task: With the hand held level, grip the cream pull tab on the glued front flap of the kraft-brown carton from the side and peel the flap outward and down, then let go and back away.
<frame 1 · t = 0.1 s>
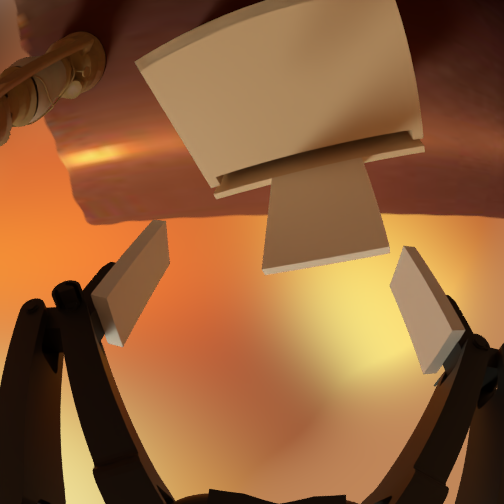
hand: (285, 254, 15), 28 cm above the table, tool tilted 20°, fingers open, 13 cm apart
lantern: (78, 62, 30), on the table
carton: (287, 53, 29), on the table
front flap: (314, 152, 26), point 14 cm above the table, hinge at 0.0°
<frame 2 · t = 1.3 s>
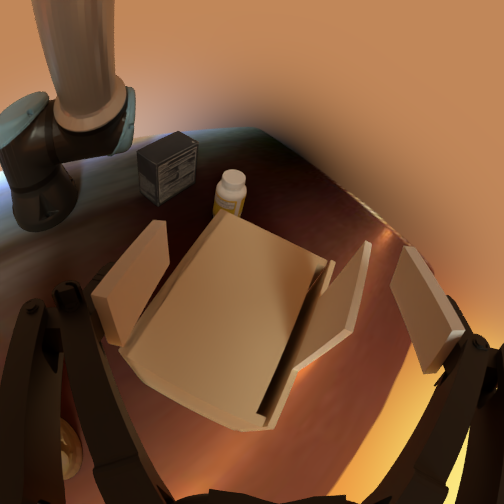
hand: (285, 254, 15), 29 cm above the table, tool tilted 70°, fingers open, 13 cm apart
lantern: (51, 447, 26), on the table
supplement bottle: (225, 215, 56), on the table
small box: (167, 187, 58), on the table
carton: (218, 349, 41), on the table
front flap: (298, 343, 29), point 14 cm above the table, hinge at -0.5°
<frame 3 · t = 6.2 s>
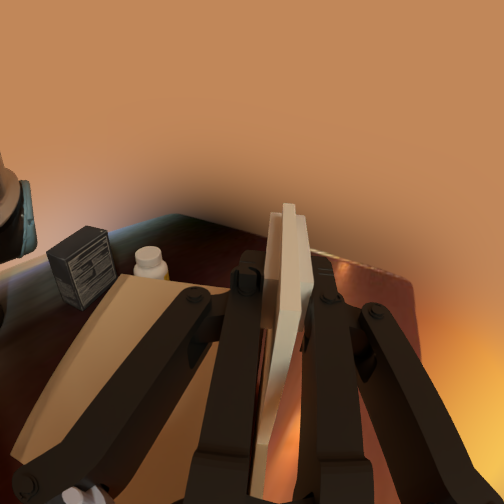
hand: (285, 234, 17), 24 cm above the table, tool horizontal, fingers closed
supplement bottle: (156, 304, 46), on the table
small box: (90, 290, 48), on the table
carton: (182, 451, 25), on the table
front flap: (263, 408, 18), point 14 cm above the table, hinge at -0.4°, touching gripper
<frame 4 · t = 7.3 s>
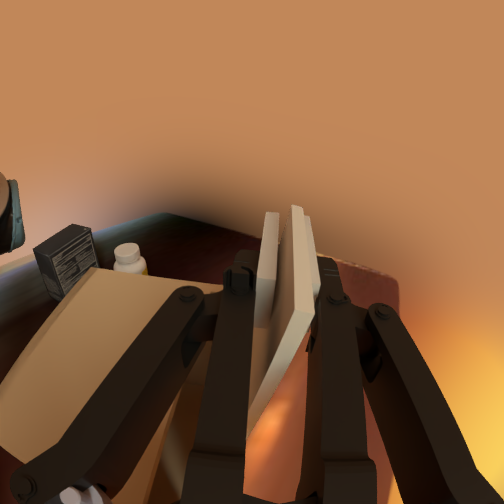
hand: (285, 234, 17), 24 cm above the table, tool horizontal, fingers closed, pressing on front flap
supplement bottle: (137, 299, 47), on the table
small box: (76, 286, 48), on the table
carton: (149, 442, 26), on the table
front flap: (239, 404, 18), point 13 cm above the table, hinge at 9.1°, touching gripper
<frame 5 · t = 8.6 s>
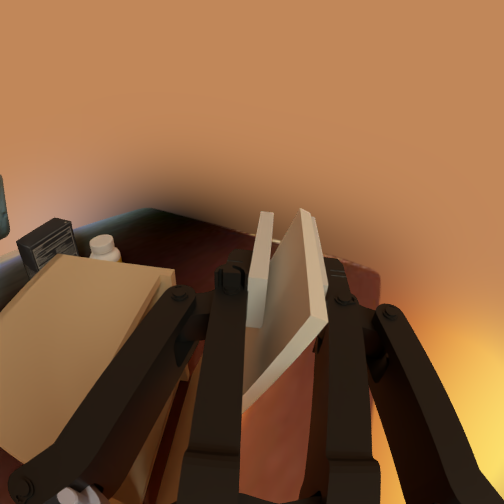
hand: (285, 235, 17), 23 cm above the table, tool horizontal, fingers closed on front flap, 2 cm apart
supplement bottle: (113, 290, 46), on the table
small box: (57, 279, 47), on the table
carton: (111, 427, 25), on the table
front flap: (210, 397, 18), point 13 cm above the table, hinge at 20.4°, touching gripper
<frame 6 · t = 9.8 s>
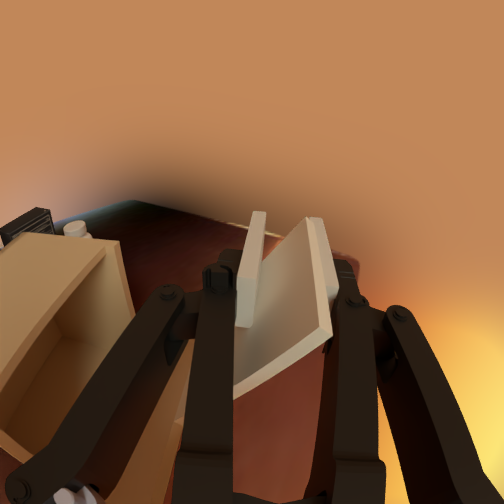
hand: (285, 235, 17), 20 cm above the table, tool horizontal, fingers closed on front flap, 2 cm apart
supplement bottle: (87, 276, 46), on the table
small box: (38, 266, 47), on the table
carton: (68, 404, 24), on the table
front flap: (174, 384, 18), point 11 cm above the table, hinge at 34.3°, touching gripper
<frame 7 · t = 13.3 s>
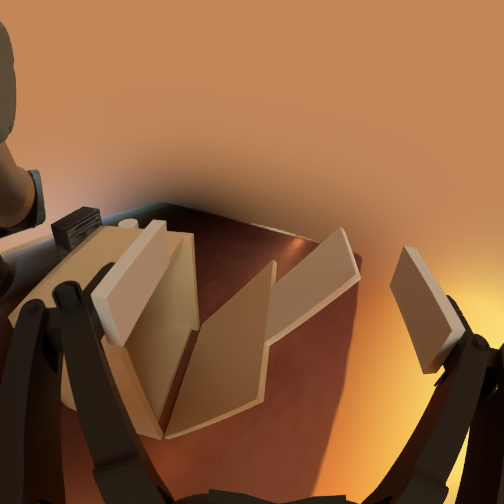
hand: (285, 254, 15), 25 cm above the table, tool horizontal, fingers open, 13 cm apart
supplement bottle: (135, 266, 57), on the table
small box: (84, 258, 59), on the table
carton: (135, 365, 36), on the table
front flap: (250, 329, 29), point 11 cm above the table, hinge at 37.1°
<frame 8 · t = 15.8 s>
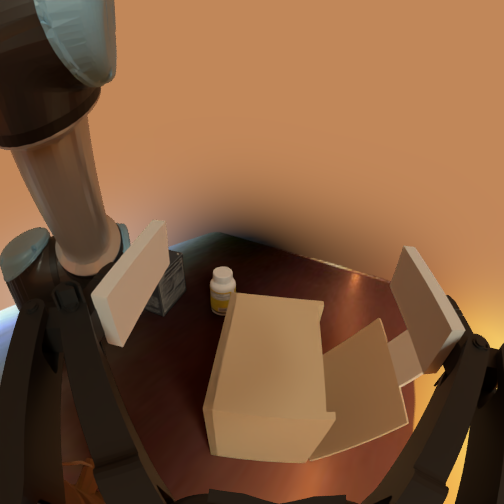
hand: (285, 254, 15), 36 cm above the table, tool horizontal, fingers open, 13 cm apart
supplement bottle: (223, 308, 64), on the table
small box: (164, 299, 65), on the table
carton: (263, 407, 43), on the table
front flap: (376, 374, 37), point 11 cm above the table, hinge at 37.1°
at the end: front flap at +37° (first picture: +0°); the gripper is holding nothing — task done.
